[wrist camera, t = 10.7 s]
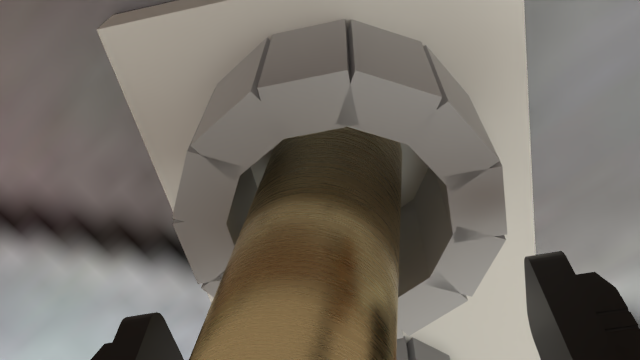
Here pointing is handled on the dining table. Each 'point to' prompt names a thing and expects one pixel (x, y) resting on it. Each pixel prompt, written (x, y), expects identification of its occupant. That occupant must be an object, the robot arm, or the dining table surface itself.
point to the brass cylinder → (314, 256)
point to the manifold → (361, 114)
